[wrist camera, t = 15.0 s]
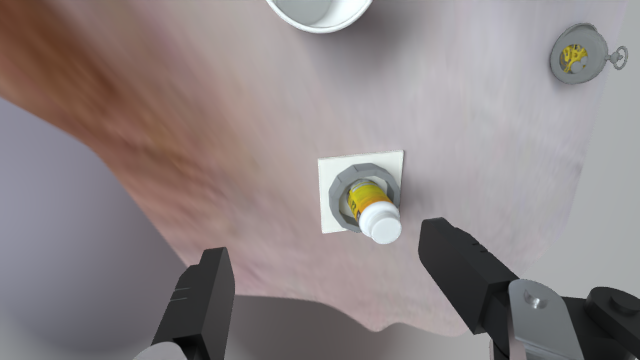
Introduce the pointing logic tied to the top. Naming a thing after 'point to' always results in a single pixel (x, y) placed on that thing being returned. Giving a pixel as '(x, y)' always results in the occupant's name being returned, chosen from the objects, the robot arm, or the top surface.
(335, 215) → the ring holder
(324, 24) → the coffee cup
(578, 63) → the pocket watch
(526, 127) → the top surface
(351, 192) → the supplement bottle
